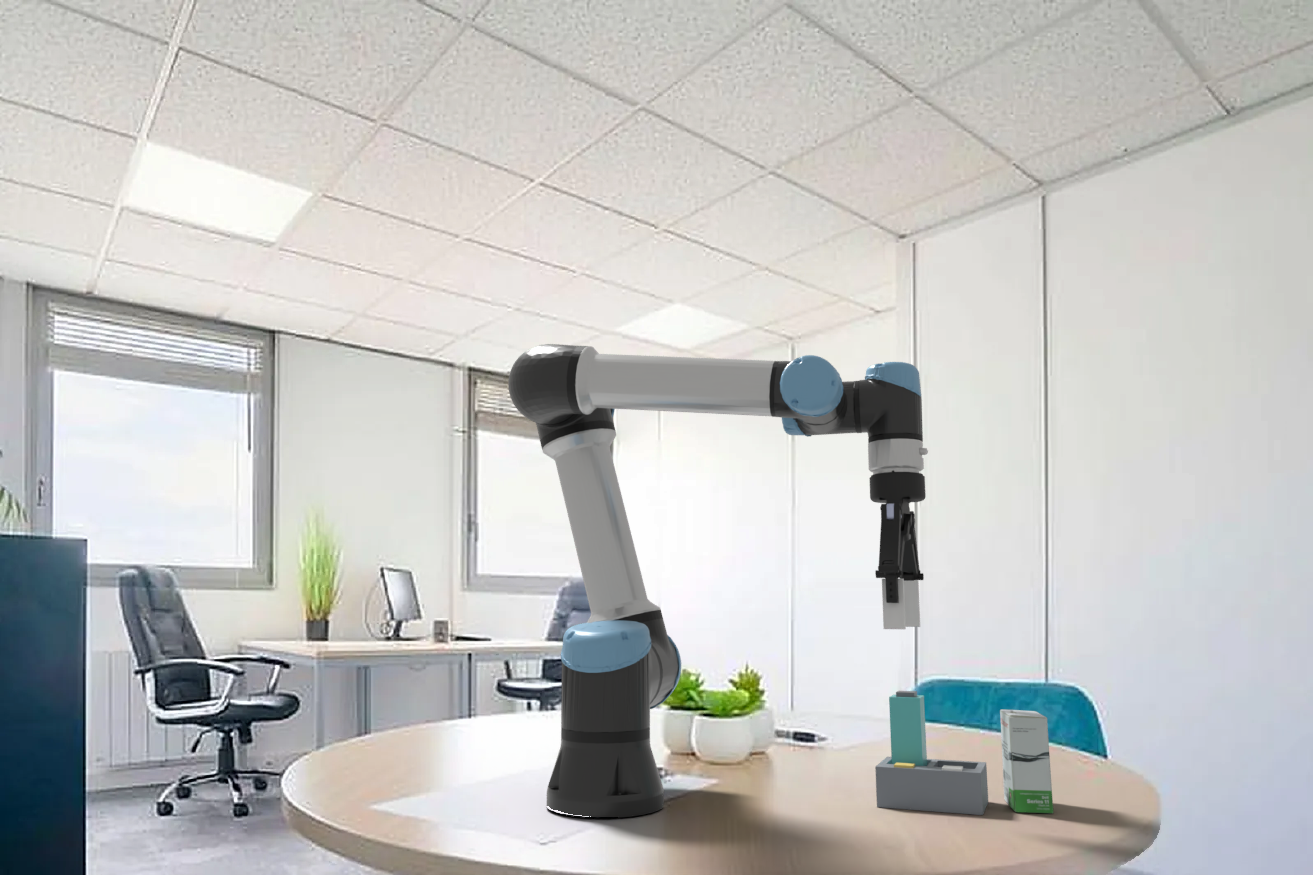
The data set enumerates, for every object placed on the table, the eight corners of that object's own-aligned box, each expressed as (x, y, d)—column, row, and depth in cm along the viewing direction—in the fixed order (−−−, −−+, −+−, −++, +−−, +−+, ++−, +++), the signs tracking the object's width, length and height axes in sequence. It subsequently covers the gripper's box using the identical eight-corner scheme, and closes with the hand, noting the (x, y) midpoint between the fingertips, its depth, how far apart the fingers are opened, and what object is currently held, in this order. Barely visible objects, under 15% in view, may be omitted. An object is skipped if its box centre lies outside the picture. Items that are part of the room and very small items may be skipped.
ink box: (1055, 815, 122) (1048, 715, 124) (1013, 813, 123) (1007, 715, 125) (1042, 801, 130) (1036, 708, 132) (1003, 799, 131) (998, 708, 133)
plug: (893, 799, 129) (888, 692, 131) (898, 793, 133) (893, 690, 135) (924, 801, 128) (919, 693, 130) (928, 795, 131) (923, 690, 133)
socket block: (876, 807, 126) (875, 764, 127) (888, 794, 135) (887, 754, 136) (982, 815, 122) (980, 770, 122) (988, 801, 130) (986, 759, 131)
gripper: (910, 460, 124) (917, 630, 121) (935, 481, 147) (942, 626, 144) (851, 463, 127) (857, 630, 124) (885, 484, 150) (890, 625, 147)
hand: (902, 628), depth 134 cm, fingers open, 13 cm apart
